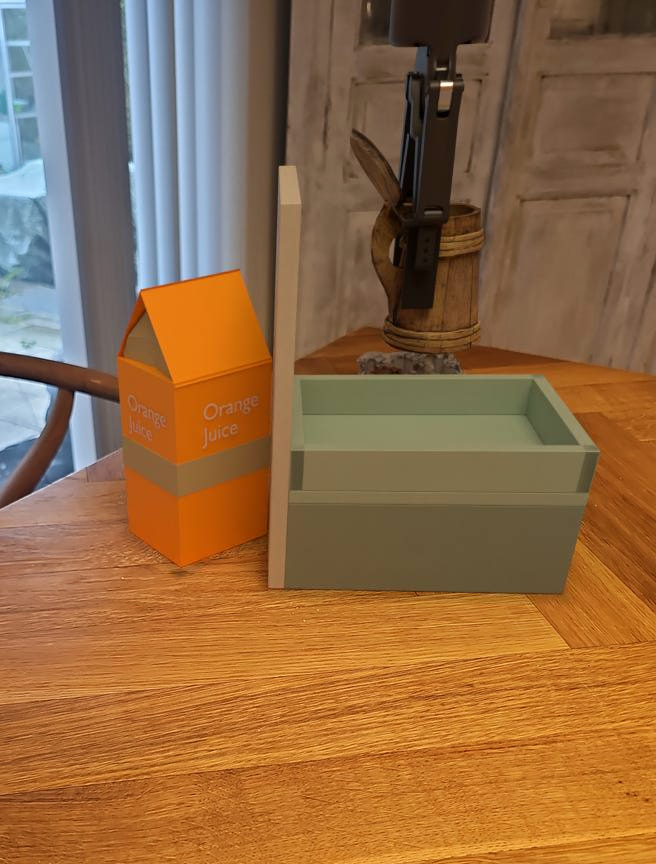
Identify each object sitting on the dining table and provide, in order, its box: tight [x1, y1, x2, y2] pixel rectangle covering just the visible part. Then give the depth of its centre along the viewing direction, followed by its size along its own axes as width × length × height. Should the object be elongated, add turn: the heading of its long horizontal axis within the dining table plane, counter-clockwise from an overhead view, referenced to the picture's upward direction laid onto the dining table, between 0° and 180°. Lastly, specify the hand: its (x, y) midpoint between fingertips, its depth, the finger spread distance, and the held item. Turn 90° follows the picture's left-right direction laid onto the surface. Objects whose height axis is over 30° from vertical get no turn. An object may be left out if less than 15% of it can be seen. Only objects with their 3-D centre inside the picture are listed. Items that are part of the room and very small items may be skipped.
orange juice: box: [116, 268, 273, 568], centre depth 67 cm, size 8×9×20 cm
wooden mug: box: [349, 127, 485, 354], centre depth 77 cm, size 9×14×18 cm, turn 100°
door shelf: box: [267, 165, 601, 595], centre depth 63 cm, size 21×15×26 cm
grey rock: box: [356, 350, 466, 375], centre depth 97 cm, size 11×8×4 cm
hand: (410, 295), depth 80 cm, fingers closed on wooden mug, 7 cm apart
